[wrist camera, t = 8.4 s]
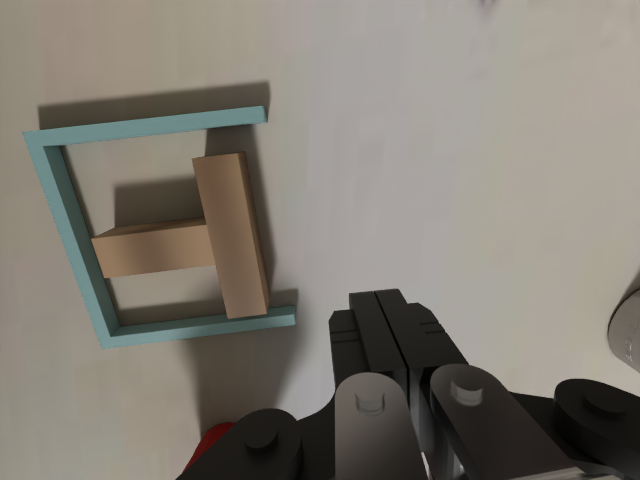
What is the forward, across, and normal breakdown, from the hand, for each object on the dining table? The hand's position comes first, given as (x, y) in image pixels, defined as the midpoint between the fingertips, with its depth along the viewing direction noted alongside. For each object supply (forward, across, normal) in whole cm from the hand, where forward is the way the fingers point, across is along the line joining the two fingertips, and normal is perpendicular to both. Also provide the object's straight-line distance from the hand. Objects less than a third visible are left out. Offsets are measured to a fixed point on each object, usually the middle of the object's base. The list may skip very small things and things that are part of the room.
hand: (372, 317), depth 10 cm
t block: (+16, +12, +1) cm, 20 cm away
